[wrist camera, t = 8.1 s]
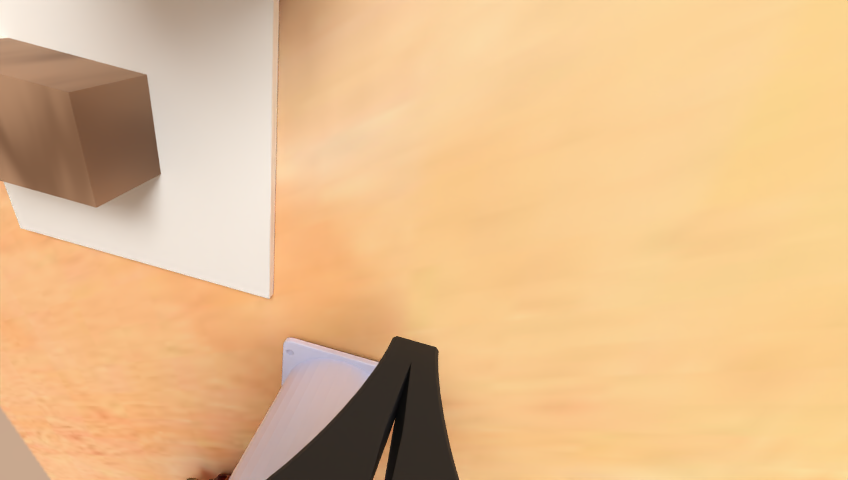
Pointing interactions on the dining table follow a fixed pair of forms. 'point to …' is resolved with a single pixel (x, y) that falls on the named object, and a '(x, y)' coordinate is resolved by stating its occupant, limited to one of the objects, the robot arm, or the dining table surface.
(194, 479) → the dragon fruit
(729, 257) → the dining table surface
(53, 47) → the mat
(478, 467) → the dining table surface
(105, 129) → the walnut block
